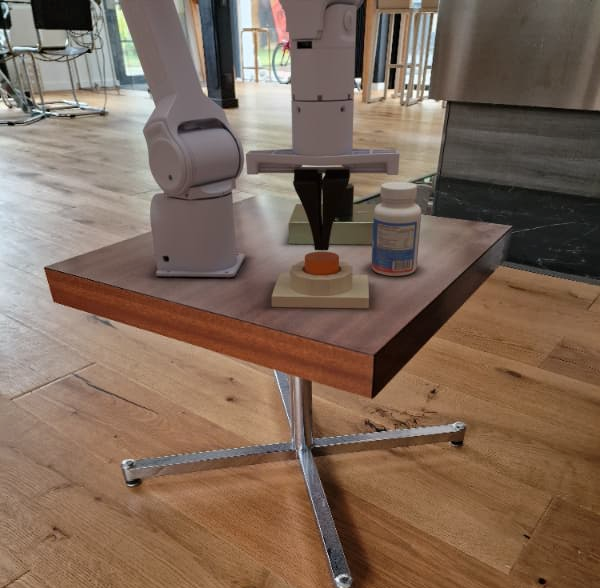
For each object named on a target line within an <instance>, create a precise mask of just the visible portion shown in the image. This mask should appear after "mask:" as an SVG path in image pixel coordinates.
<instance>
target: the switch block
mask: <svg viewBox="0 0 600 588" xmlns="http://www.w3.org/2000/svg"><path fill="white" fill-rule="evenodd" d="M353 267H354V266H352V265H351V264H349V263H347V262H346V261H341V260H339V272H338V273H336V274H332V275H311V274H307V273H305V260H303V261H300V262H298V263H296V264H295V263H294V265H292V266H291V268H290V273H279V274H278V277H277V279H276V282H275V284H274V287H273V291H272V293H271V307H272V308H313V309H315V308H317V309H370V286H369V274H353V269H354V268H353Z"/></svg>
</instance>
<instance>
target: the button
mask: <svg viewBox="0 0 600 588" xmlns="http://www.w3.org/2000/svg"><path fill="white" fill-rule="evenodd" d="M304 261H305V273H307V274H311V275H332V274H336V273H338V272H339V261H340V255H339V254H338V253H335V252H332V251H326V250H318V251H313V252H309V253H306V254H305V255H304Z"/></svg>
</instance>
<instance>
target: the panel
mask: <svg viewBox="0 0 600 588" xmlns="http://www.w3.org/2000/svg"><path fill="white" fill-rule="evenodd" d="M378 204H379V203H353V213H352V214H349V215H344V216H335V218H334V221H333V224H332V229H331V234H330V244H329V245H356V246H357V245H358V246H359V245H360V246H361V245H362V246H363V245H364V246H365V245H366V246H367V245H371V246H372V244H373V221H374V209H375V207H376V206H377V205H378ZM322 224H323V213H322ZM288 244H289V245H314V241H313V236H312V231H311V228H310V224H309V221H308V218H307V215H306V212H305V210H304V207H303V205H302V203H296V204H295V206H294V208H293V210H292V213H291V216H290V218H289V221H288Z"/></svg>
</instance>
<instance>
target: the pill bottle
mask: <svg viewBox="0 0 600 588" xmlns="http://www.w3.org/2000/svg"><path fill="white" fill-rule="evenodd" d="M379 195H380V196H379V197H380V199H381V201H382V202H380V203H377V204H378V205H377V206H376V207H375V209H374V221H373V244H372V245H371V247H372V248H371V269H372V270H373V272H375V273H377V274H379V275H383V276H388V277H389V276H390V277H402V276H407V275H410V274H413V273H414V272H416V270H417V267H418V257H419V245H420V232H421V222H422V208H421V207H420V206H419V204H417V203H416V202H415V200H417V195H418V185H417V184H416V183H413V182H409V181H389V182H383V183H381V185H380V193H379Z"/></svg>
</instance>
